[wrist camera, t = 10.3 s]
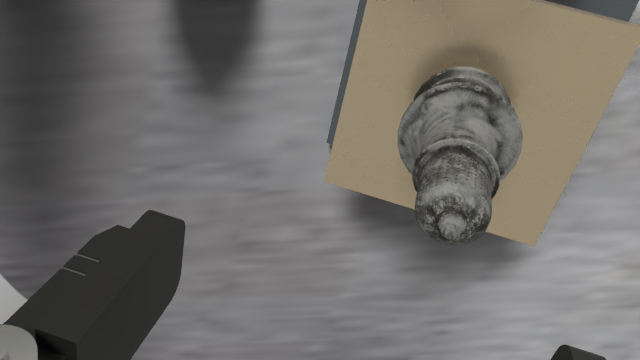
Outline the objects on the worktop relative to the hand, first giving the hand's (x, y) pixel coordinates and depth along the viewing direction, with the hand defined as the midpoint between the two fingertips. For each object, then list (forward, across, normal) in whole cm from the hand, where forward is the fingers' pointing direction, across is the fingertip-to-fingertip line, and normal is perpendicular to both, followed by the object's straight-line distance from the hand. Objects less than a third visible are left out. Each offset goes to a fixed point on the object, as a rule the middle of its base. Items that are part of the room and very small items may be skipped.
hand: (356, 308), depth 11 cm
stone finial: (+20, -3, +3) cm, 20 cm away
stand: (+29, -3, +3) cm, 29 cm away
